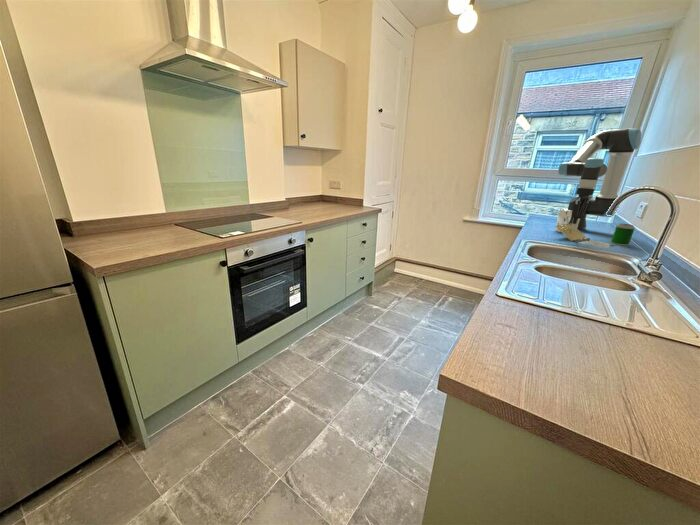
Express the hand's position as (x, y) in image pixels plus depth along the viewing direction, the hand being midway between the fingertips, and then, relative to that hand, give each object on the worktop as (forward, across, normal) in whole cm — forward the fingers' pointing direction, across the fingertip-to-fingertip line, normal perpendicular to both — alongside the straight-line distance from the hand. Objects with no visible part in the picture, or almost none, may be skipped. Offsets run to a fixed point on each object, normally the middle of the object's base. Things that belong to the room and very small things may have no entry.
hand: (573, 229), depth 166 cm
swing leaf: (+3, +1, 0) cm, 3 cm away
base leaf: (+7, +1, +12) cm, 14 cm away
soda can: (+7, -14, +18) cm, 24 cm away
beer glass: (+7, -17, -14) cm, 23 cm away
